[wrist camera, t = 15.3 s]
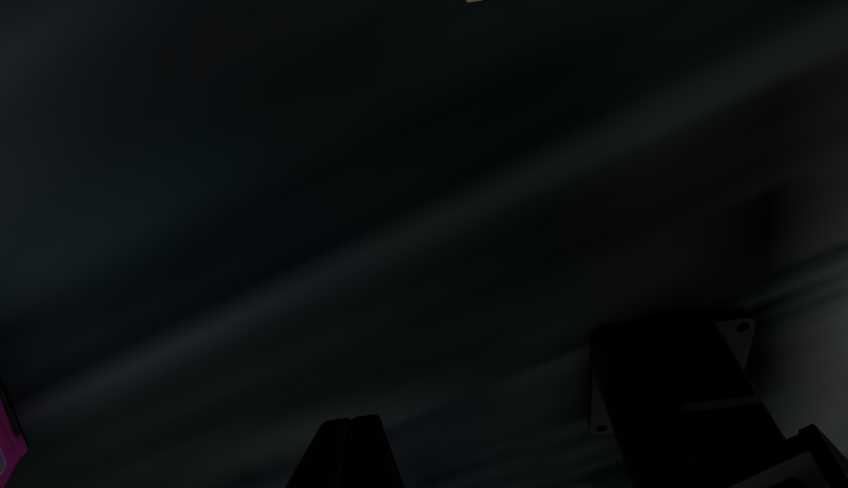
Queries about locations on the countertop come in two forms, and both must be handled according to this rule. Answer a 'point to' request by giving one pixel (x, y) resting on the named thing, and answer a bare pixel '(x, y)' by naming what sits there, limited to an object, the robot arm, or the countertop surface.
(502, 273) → the countertop surface
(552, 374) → the countertop surface
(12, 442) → the candy bar box
